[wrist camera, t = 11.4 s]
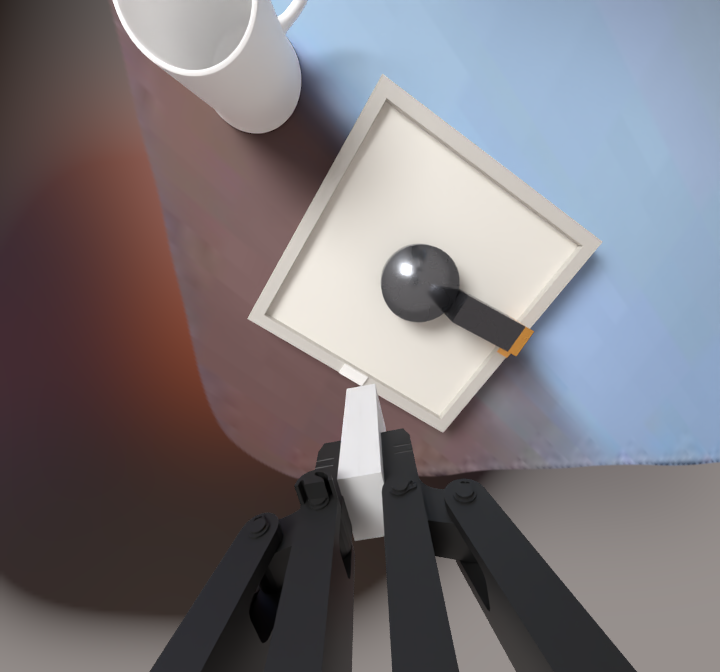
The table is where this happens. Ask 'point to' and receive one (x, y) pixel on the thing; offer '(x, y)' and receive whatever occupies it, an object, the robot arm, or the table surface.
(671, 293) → the table surface
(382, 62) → the table surface
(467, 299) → the dark grey handled piece
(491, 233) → the white square tray
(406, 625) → the robot arm
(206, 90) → the mug
